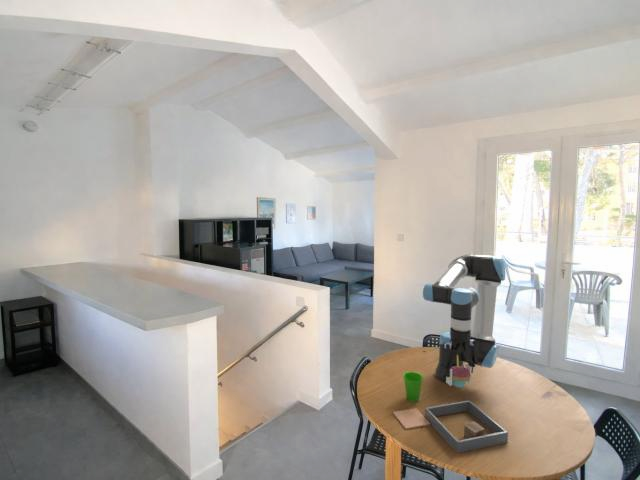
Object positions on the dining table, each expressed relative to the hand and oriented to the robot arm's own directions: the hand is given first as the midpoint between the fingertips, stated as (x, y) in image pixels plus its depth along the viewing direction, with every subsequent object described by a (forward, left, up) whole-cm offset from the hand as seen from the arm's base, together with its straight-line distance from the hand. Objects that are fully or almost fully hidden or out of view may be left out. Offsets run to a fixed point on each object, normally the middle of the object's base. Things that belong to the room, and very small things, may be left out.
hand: (458, 382), depth 137 cm
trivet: (+17, -7, -17) cm, 25 cm away
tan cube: (0, +10, -18) cm, 20 cm away
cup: (+9, -20, -18) cm, 28 cm away
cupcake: (0, 0, -1) cm, 1 cm away
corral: (0, +4, -17) cm, 18 cm away
